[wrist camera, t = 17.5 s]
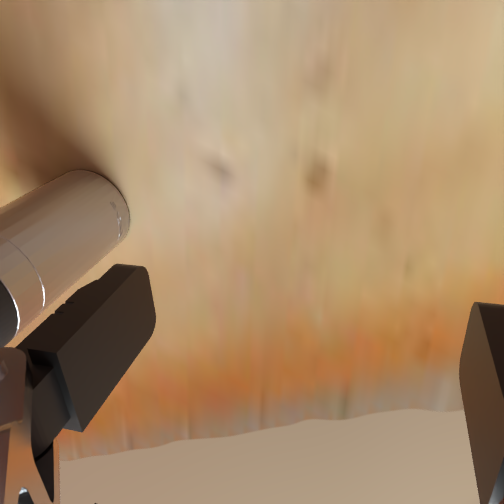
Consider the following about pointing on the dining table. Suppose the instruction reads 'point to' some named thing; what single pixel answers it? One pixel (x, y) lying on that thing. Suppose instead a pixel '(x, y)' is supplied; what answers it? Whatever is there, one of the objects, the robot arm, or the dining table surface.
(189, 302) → the dining table surface
